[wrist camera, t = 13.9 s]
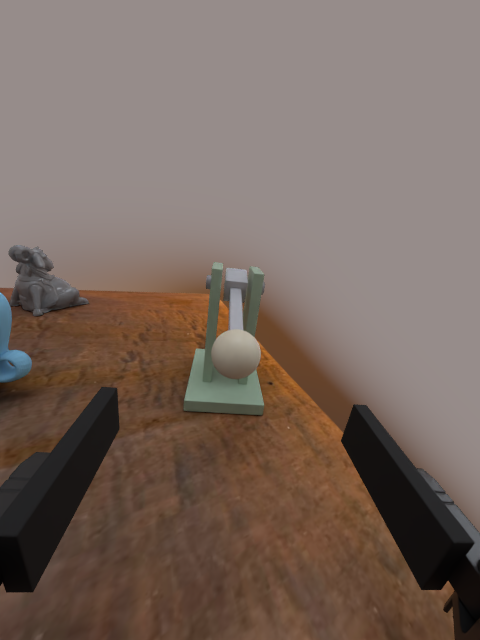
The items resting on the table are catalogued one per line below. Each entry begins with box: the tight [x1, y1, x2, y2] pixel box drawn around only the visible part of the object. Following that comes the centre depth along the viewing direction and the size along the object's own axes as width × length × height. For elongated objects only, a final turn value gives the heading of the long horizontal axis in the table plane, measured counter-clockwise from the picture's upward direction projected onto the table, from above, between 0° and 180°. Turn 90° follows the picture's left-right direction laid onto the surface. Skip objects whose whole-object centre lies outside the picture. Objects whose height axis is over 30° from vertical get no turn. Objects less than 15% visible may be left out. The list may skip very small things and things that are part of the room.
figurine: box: [9, 245, 89, 316], centre depth 44 cm, size 8×10×11 cm
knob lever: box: [211, 268, 261, 379], centre depth 22 cm, size 13×4×4 cm, turn 4°
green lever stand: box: [184, 262, 265, 415], centre depth 28 cm, size 11×8×14 cm
